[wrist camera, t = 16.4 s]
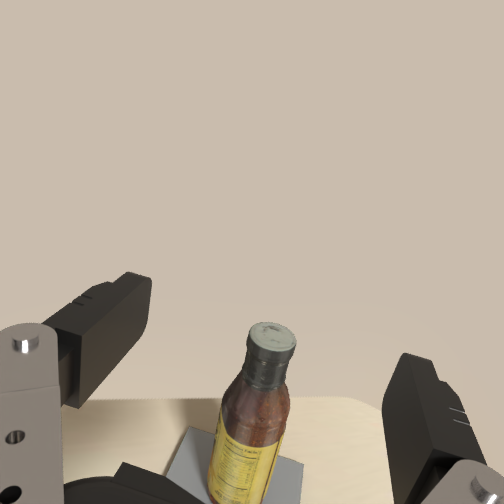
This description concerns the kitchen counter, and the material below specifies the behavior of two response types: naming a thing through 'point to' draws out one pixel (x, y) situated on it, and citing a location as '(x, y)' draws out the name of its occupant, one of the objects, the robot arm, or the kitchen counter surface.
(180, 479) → the grey mat
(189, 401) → the kitchen counter surface
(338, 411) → the kitchen counter surface
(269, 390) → the sauce bottle
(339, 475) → the kitchen counter surface
